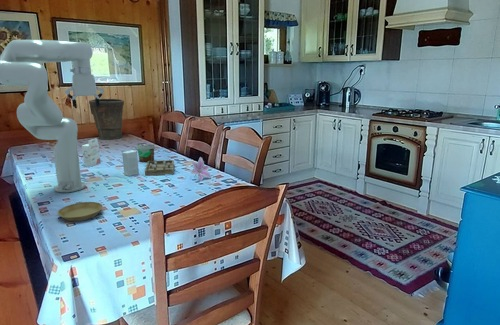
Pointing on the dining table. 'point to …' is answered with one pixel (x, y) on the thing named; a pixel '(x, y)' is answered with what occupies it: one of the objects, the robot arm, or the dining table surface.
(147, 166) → the pin tray
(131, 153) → the skincare box
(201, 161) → the lily
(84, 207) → the plant saucer
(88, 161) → the ink cartridge box
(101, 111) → the clay pot
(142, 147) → the food container
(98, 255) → the dining table surface
